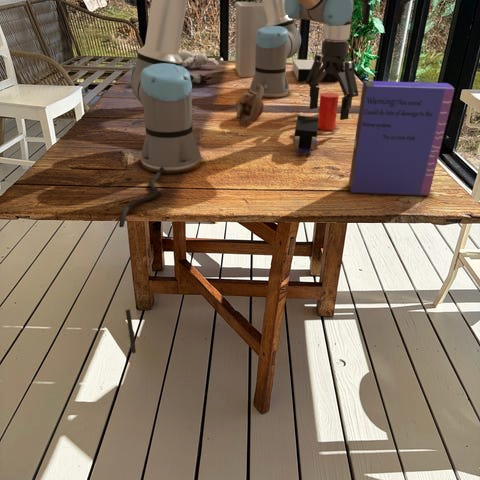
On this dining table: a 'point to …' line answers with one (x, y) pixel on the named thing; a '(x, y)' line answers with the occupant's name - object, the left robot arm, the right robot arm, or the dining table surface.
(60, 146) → the dining table surface
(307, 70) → the disc drive
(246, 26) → the tall cream pillar
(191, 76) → the figurine
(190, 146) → the left robot arm
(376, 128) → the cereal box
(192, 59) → the toy
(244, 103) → the brown lumpy shape
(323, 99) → the can
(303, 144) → the figurine character
